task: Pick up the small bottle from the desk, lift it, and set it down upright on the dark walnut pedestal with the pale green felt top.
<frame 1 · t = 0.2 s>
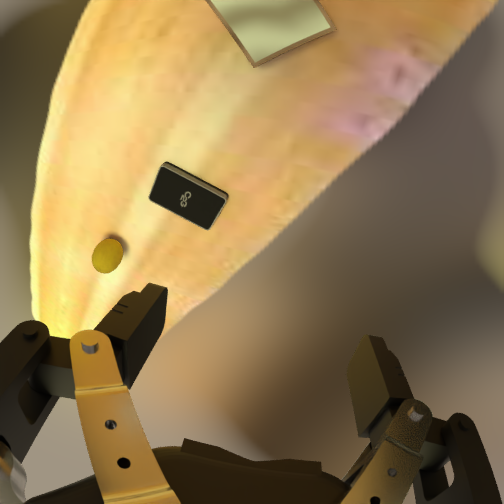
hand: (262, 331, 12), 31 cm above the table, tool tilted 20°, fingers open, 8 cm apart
pedestal: (273, 13, 26), on the table
lemon: (117, 241, 54), on the table
external hard drive: (190, 192, 45), on the table
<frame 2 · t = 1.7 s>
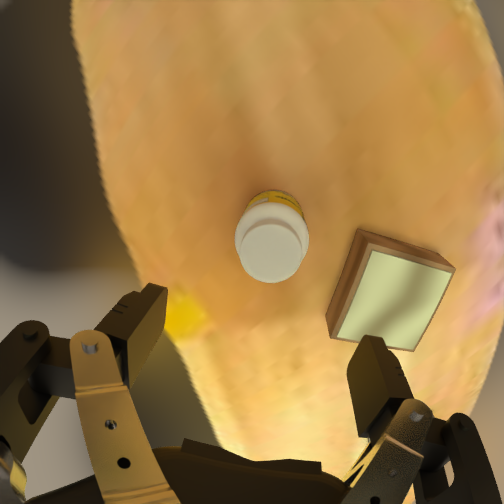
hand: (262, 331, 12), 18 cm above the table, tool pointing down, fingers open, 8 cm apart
pedestal: (384, 285, 29), on the table
supplement bottle: (274, 216, 28), on the table
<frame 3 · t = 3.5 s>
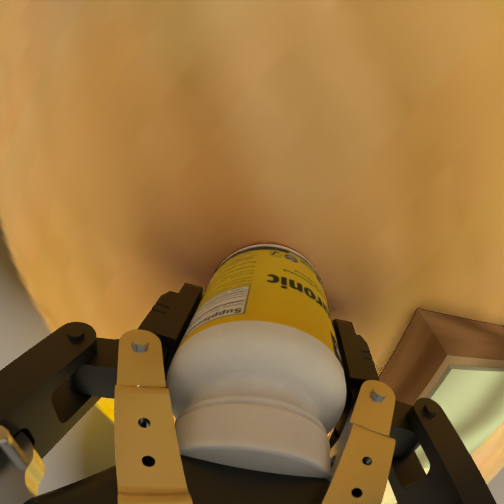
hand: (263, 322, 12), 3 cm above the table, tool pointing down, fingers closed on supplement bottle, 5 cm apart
pedestal: (439, 382, 16), on the table
supplement bottle: (267, 291, 15), on the table, touching gripper
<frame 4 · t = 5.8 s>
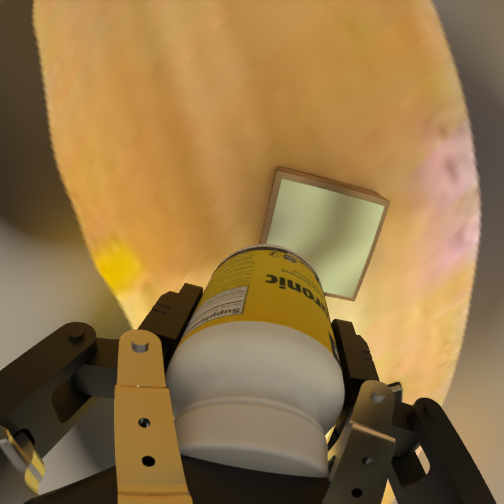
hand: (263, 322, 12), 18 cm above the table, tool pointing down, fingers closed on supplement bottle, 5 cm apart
pedestal: (315, 227, 29), on the table
supplement bottle: (266, 291, 15), point 16 cm above the table, touching gripper
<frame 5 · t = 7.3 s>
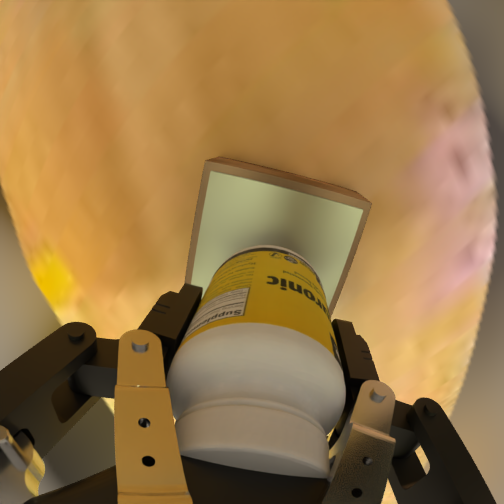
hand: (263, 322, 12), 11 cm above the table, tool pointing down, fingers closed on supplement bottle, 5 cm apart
pedestal: (271, 239, 22), on the table
supplement bottle: (267, 292, 15), point 8 cm above the table, touching gripper
when the fingers open (8 cm above the table, at t = 8.3 s): supplement bottle drops 1 cm, resting on pedestal.
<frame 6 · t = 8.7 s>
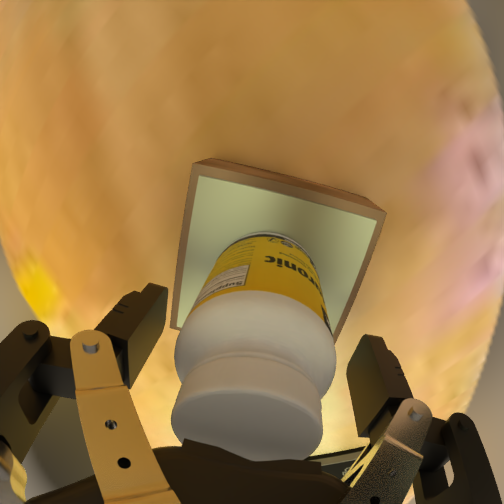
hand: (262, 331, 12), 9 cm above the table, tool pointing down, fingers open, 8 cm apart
pedestal: (271, 250, 20), on the table
external hard drive: (347, 458, 29), on the table
supplement bottle: (265, 277, 16), point 4 cm above the table, touching pedestal
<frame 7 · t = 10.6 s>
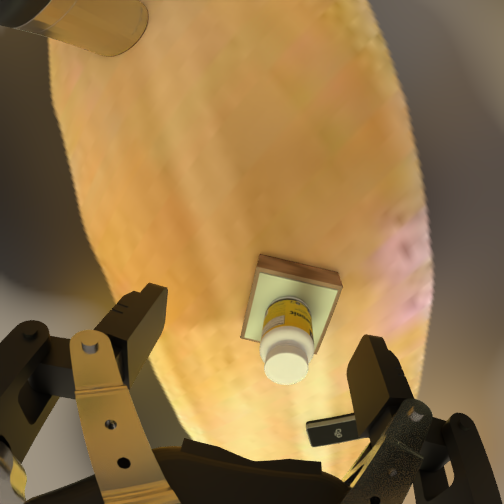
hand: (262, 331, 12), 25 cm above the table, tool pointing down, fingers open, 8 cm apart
pedestal: (289, 298, 39), on the table
external hard drive: (338, 424, 47), on the table
supplement bottle: (288, 314, 35), point 4 cm above the table, touching pedestal
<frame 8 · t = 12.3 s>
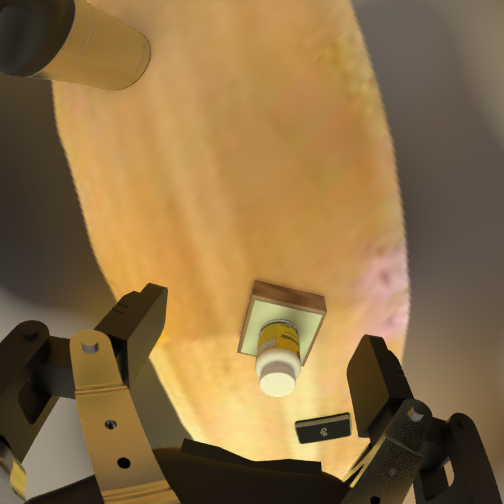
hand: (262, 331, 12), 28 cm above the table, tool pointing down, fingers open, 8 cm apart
pedestal: (280, 317, 44), on the table
external hard drive: (323, 424, 53), on the table
supplement bottle: (279, 333, 40), point 4 cm above the table, touching pedestal
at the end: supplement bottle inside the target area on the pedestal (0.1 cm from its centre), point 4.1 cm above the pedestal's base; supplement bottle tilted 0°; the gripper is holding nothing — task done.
